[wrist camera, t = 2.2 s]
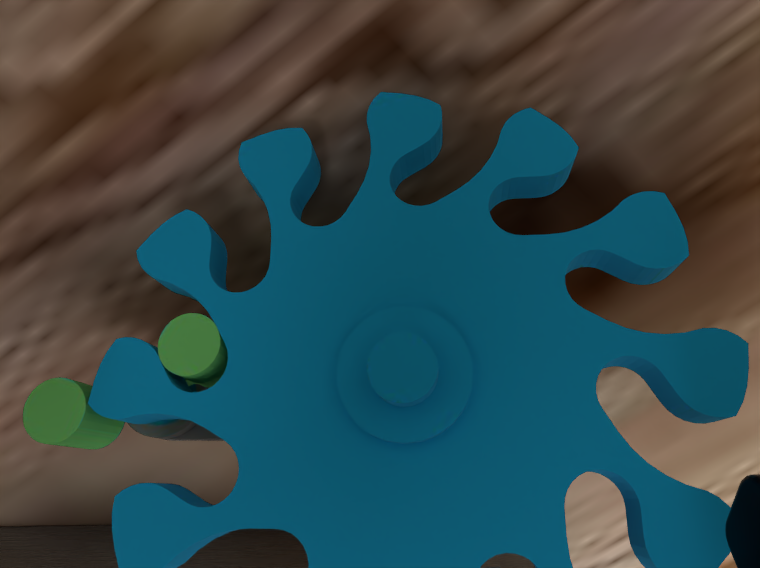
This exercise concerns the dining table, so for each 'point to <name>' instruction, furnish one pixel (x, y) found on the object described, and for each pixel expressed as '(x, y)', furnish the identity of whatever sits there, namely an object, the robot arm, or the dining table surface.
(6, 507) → the dining table surface
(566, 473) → the gear
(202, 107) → the dining table surface
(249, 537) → the grey drawer box
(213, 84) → the dining table surface
